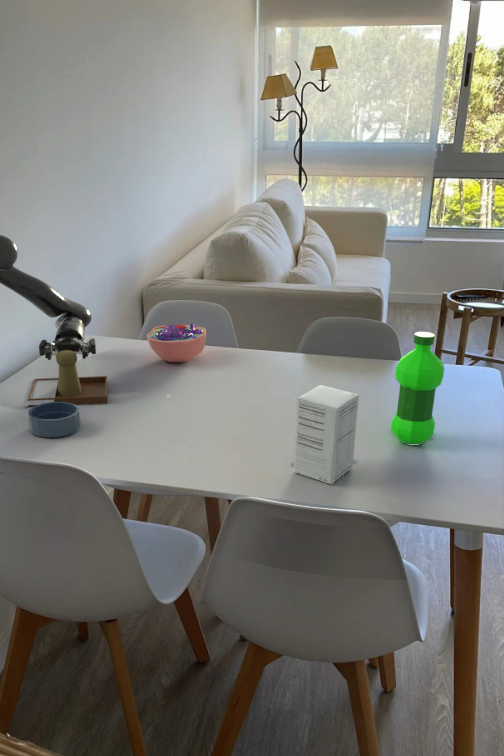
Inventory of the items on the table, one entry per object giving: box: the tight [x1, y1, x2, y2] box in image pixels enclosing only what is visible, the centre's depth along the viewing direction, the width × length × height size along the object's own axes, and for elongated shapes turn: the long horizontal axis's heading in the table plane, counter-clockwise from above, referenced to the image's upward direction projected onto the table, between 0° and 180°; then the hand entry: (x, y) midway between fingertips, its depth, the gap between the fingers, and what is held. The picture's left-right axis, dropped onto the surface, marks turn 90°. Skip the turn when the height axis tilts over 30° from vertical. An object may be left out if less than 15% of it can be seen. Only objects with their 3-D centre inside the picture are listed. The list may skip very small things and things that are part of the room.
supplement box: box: [293, 384, 360, 485], centre depth 143 cm, size 10×9×17 cm
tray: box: [27, 375, 109, 408], centre depth 183 cm, size 19×15×2 cm
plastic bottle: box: [390, 331, 445, 445], centre depth 156 cm, size 10×10×25 cm
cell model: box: [146, 323, 207, 363], centre depth 208 cm, size 17×20×11 cm
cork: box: [55, 350, 82, 397], centre depth 180 cm, size 6×6×11 cm
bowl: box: [27, 401, 82, 438], centre depth 162 cm, size 11×11×4 cm
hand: (66, 355), depth 178 cm, fingers open, 8 cm apart
